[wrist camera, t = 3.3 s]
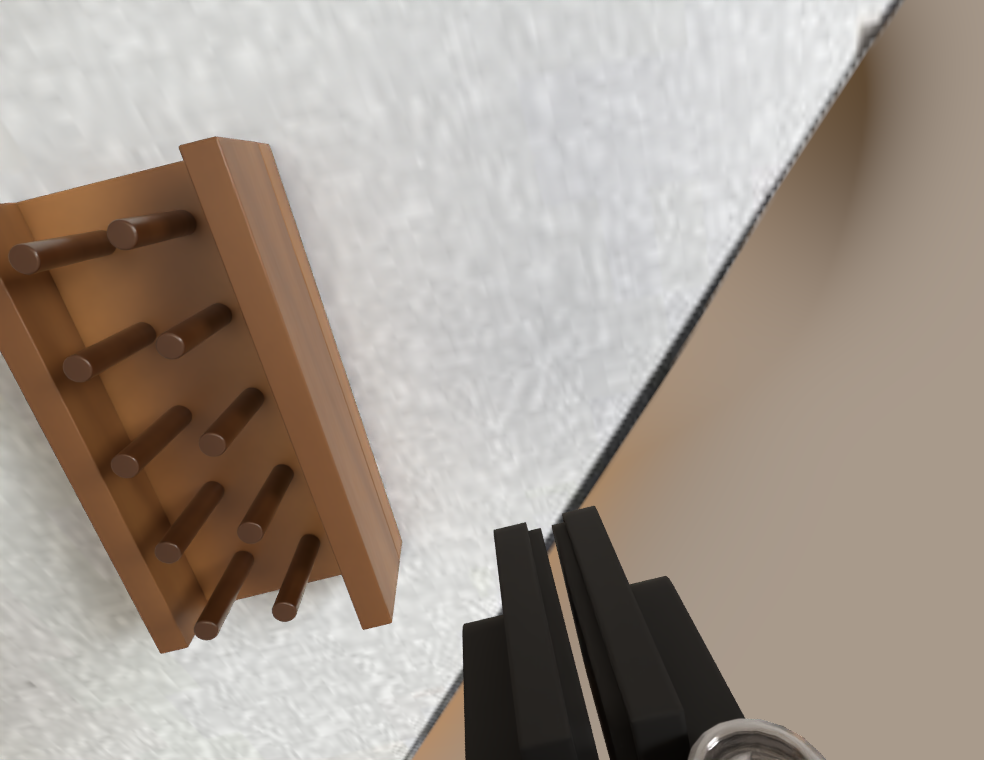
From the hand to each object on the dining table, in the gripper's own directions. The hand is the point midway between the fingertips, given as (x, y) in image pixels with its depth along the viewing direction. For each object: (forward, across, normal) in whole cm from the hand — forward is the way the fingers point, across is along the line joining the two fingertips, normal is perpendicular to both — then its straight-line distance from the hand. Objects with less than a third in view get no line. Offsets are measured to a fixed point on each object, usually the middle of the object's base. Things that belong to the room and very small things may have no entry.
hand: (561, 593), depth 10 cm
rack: (+17, +12, 0) cm, 20 cm away
